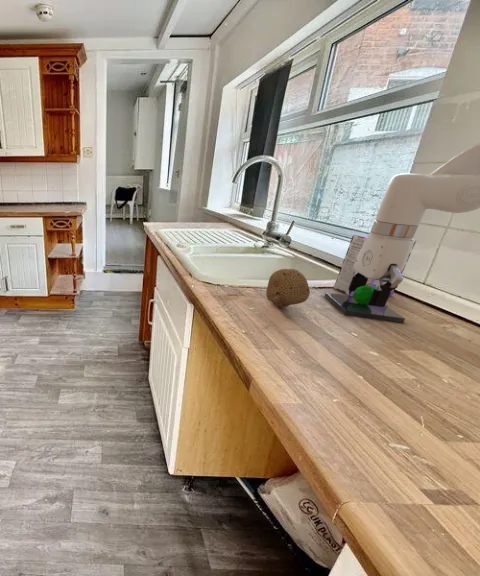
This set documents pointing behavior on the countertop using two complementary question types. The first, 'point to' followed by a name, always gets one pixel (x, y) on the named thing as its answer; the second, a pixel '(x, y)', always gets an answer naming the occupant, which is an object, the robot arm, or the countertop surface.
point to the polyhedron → (363, 295)
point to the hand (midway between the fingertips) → (364, 298)
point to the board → (362, 308)
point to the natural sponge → (287, 288)
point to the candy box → (349, 261)
